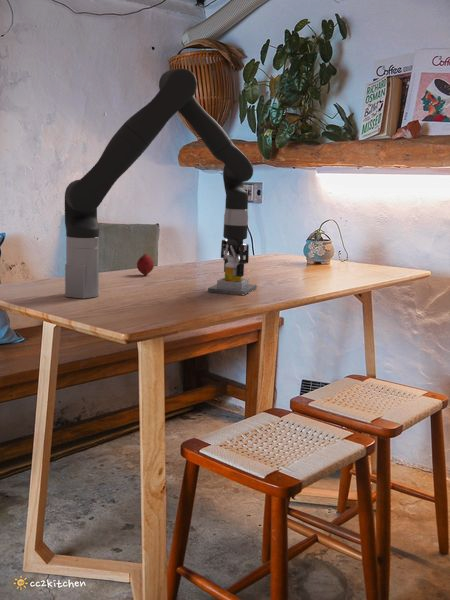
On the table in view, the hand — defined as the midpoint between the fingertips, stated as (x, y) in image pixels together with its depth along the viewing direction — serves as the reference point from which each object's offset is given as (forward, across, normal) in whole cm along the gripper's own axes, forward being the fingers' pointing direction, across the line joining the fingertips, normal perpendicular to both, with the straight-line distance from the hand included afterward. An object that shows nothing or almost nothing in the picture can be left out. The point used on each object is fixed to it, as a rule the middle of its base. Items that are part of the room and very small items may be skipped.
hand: (233, 274), depth 218 cm
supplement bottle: (+4, 0, 0) cm, 4 cm away
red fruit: (+5, +34, +17) cm, 38 cm away
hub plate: (+5, 0, 0) cm, 5 cm away
